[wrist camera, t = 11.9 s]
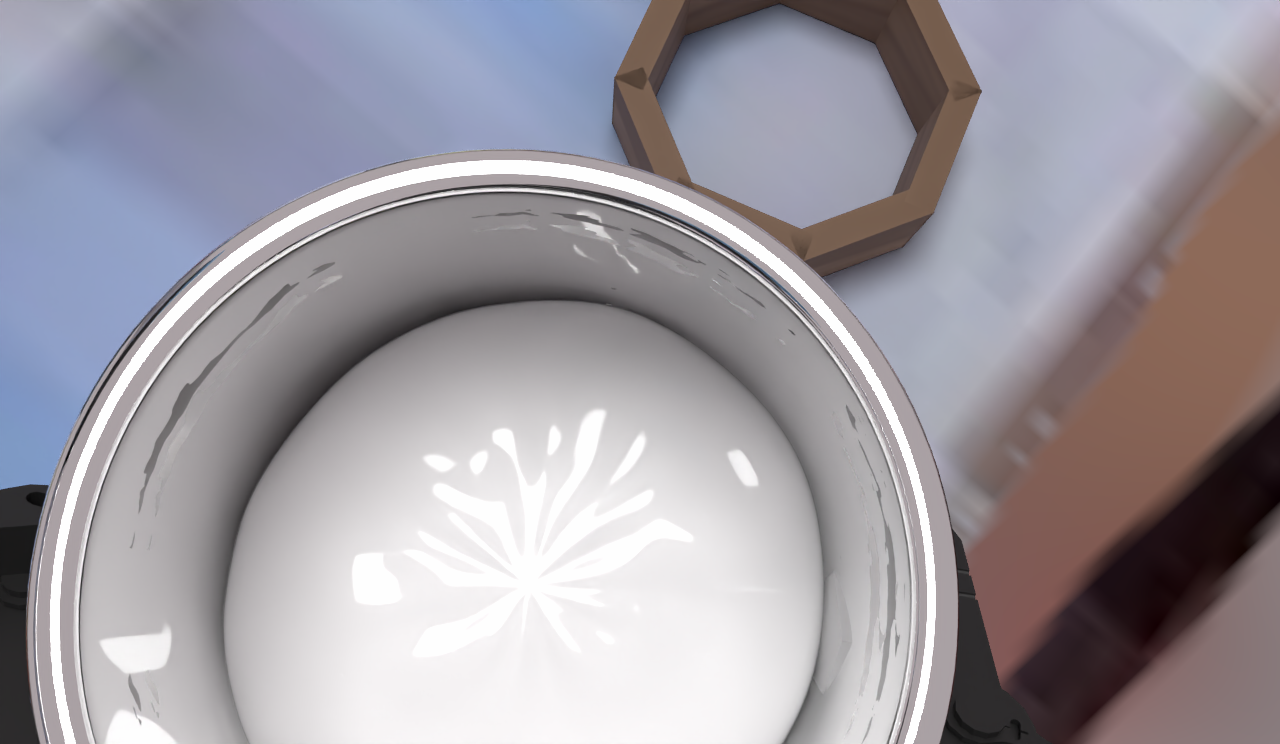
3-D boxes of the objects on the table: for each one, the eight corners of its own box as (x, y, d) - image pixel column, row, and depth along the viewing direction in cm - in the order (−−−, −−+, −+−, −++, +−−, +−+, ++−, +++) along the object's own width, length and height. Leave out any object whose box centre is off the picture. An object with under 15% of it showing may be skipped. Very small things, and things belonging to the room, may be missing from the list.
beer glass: (789, 612, 22) (1190, 647, 8) (525, 845, 21) (409, 1404, 7) (577, 357, 23) (576, -49, 9) (311, 567, 22) (-217, 515, 7)
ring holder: (695, 325, 37) (706, 298, 34) (579, 43, 39) (578, -9, 36) (986, 215, 39) (1024, 179, 35) (859, -52, 41) (884, -111, 37)
